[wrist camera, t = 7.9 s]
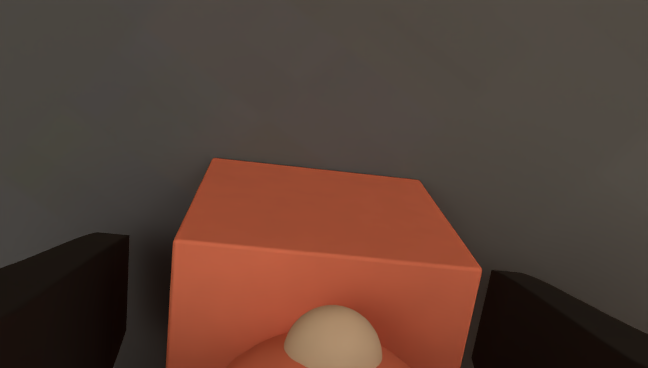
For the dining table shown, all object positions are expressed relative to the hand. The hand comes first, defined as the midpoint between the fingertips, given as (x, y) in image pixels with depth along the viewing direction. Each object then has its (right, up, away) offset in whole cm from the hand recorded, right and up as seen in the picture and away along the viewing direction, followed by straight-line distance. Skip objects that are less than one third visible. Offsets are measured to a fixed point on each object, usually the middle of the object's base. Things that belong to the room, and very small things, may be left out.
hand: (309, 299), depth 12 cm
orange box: (0, +1, +1) cm, 2 cm away
